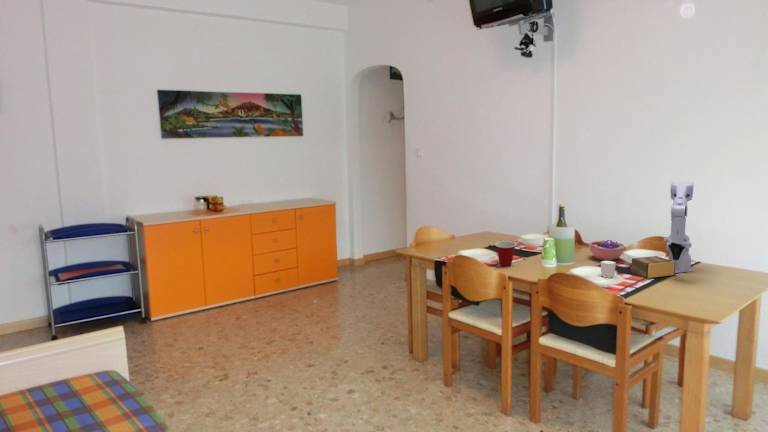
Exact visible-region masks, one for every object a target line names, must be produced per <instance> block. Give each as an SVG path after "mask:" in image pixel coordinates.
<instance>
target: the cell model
mask: <svg viewBox="0 0 768 432" xmlns="http://www.w3.org/2000/svg"><path fill="white" fill-rule="evenodd" d="M588 248H589V249H588V250H589V251H590V252H591V254H592V256H594V257H595V258H596V259H597V260H602V261H614V260H617V259H618V258H620V257H621V256H622V255H623V254H624V250H625V248H626V247H625V245H624V244H623V243H621V242H618V241H613V240H611V239H607V240H597V241H594V242H589V247H588Z"/></svg>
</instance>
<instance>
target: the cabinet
mask: <svg viewBox="0 0 768 432" xmlns="http://www.w3.org/2000/svg"><path fill="white" fill-rule="evenodd" d="M661 262H671V260H669V258H668V259H667V258H664V257H660V256H657V255H654V256H645V257H644V256H642V257H641V256H640V257H633V258H631V270H630V271H631V273H633V274H636V275H638V276H640V277H644V278H648V264H652V263H661Z"/></svg>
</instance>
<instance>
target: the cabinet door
mask: <svg viewBox="0 0 768 432" xmlns="http://www.w3.org/2000/svg"><path fill="white" fill-rule="evenodd" d="M675 263H676V261H671V262H661V263H652V264H648V277H647V278H649V279H650V278H651V279H652V278H658V277H659V278H661V277H668V276H675V275H676V273H675Z"/></svg>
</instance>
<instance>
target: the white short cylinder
mask: <svg viewBox="0 0 768 432" xmlns="http://www.w3.org/2000/svg"><path fill="white" fill-rule="evenodd" d="M616 266H617V261H614V260H611V261H605V260H602V261H600V272H601V273H600V274H601V275H602V276H605V277H613V278H615V273H616V272H615V271H616ZM602 276H601V277H602ZM605 277H604V278H605Z"/></svg>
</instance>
